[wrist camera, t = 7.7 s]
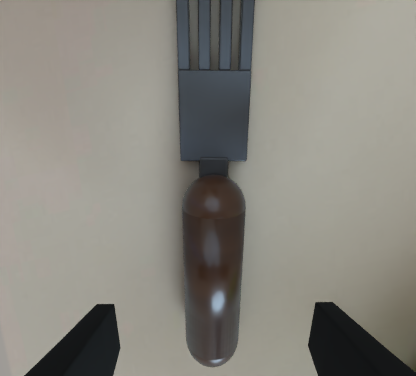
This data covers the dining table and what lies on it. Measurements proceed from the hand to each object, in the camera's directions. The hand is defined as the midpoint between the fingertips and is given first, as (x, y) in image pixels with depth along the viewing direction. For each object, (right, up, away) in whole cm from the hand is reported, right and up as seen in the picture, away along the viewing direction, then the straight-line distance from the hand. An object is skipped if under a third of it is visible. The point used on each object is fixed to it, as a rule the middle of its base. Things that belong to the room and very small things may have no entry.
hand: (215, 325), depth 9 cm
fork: (0, +5, +4) cm, 7 cm away
